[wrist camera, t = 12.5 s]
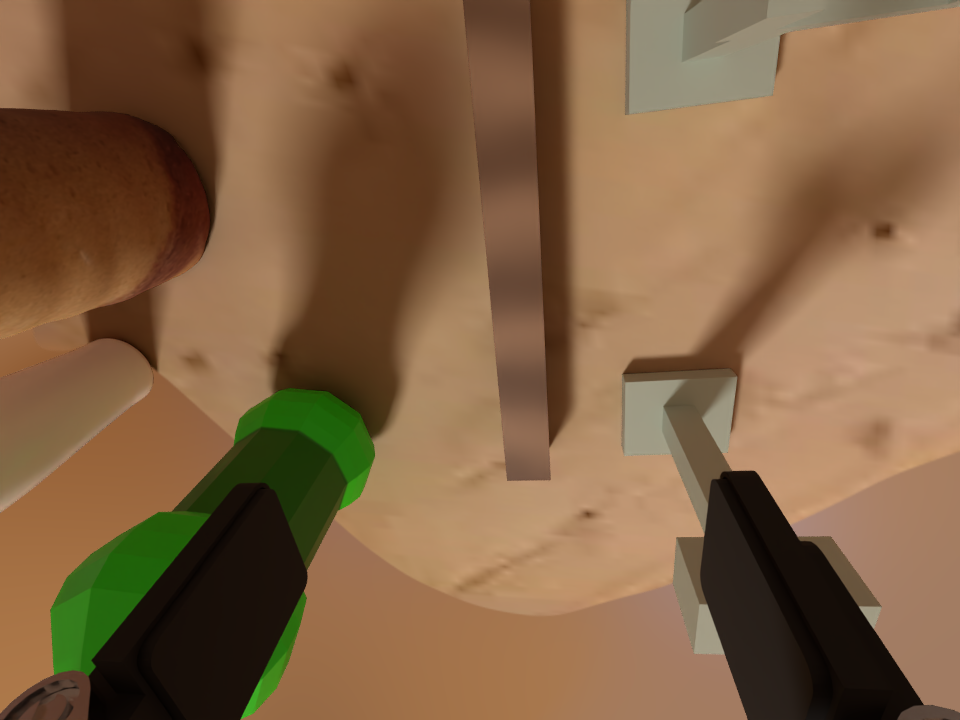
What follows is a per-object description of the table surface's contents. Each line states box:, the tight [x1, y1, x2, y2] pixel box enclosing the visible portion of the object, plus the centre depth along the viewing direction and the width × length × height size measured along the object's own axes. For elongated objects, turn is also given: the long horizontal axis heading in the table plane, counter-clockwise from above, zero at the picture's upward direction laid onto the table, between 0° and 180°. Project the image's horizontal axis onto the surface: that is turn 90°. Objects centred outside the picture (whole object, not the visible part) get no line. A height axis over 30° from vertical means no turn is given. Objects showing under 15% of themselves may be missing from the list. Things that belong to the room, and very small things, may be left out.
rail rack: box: [622, 0, 960, 654], centre depth 22 cm, size 28×7×17 cm, turn 7°
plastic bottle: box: [50, 388, 375, 719], centre depth 26 cm, size 10×10×25 cm
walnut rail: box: [463, 0, 551, 481], centre depth 29 cm, size 28×3×4 cm, turn 6°
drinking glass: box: [0, 338, 154, 512], centre depth 30 cm, size 7×7×15 cm
